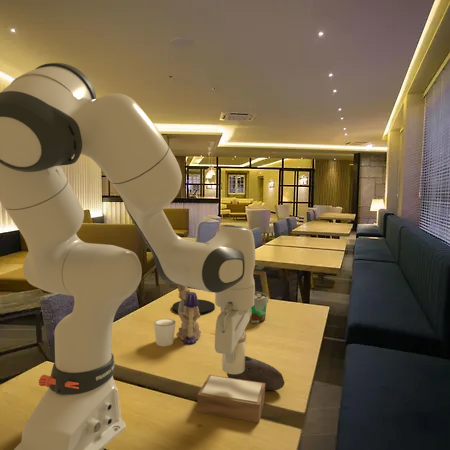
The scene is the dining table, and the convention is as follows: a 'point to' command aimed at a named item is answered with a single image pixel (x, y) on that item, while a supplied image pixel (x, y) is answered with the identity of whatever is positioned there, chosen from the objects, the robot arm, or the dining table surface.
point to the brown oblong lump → (260, 374)
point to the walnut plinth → (232, 398)
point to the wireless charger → (203, 307)
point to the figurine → (187, 315)
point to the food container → (259, 307)
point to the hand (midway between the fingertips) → (233, 355)
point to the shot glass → (164, 332)
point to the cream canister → (236, 358)
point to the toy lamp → (190, 316)
